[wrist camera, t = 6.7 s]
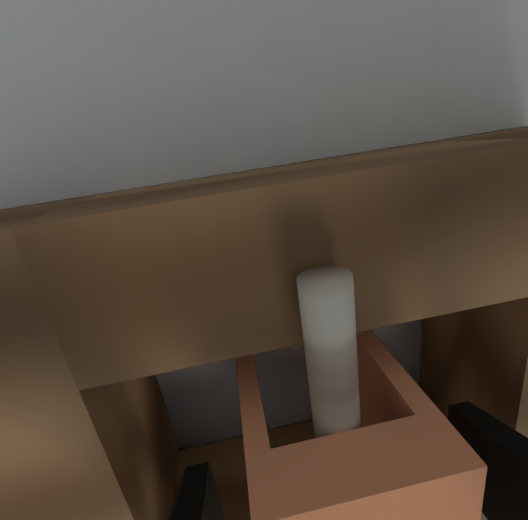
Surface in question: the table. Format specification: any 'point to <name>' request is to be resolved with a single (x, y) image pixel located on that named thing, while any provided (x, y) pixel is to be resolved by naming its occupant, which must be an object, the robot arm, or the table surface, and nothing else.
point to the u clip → (364, 455)
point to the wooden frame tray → (250, 310)
